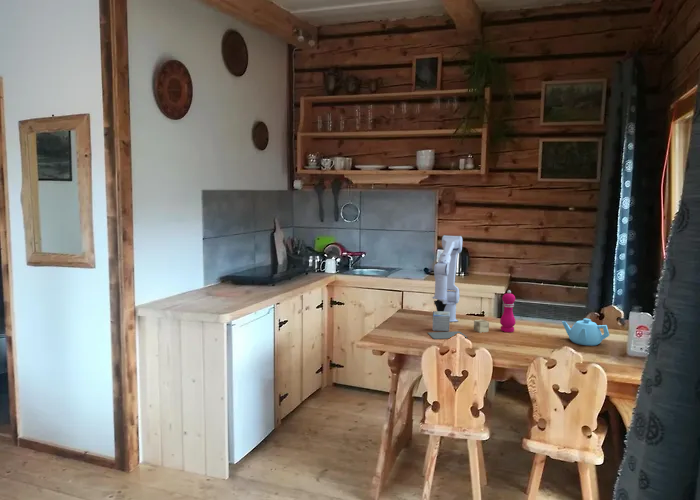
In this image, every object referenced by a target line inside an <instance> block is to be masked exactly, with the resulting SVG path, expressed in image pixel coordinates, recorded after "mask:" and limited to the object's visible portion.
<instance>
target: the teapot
mask: <svg viewBox="0 0 700 500" xmlns="http://www.w3.org/2000/svg"><path fill="white" fill-rule="evenodd" d="M561 323H562V325H563V327H564V329H565V332H566V334H567V336H568V338H569V340H570V341H571V342H572V343H574V344H576V345H580V346H587V347H588V346H590V347H591V346H592V347H593V346H598V345H599V344H601V343H602V342H603V340H605V339H607V338H608V337H609V336H610V332H609V329H608V325H607V324H602V325H601V324H599V325H598V324H597V323H596V322H593V321H592V319H590V318H586V317H585V318H583V319H582V320H577V321H575V322H574V324H573V325H572V326H571V327H570V325H569V324H568V323H567V321H565V320H562V321H561ZM601 329H603V334H602V330H601Z"/></svg>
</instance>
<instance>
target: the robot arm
mask: <svg viewBox="0 0 700 500" xmlns="http://www.w3.org/2000/svg"><path fill="white" fill-rule="evenodd" d="M441 246H442V249H443V251H442V253H440V254H439V257H438V260H437V263H435V264H434V268H433V273H434V274H433V275H434V280H435V283H434V296H432V297H431V298H432V299H433V300H434V301H433V303H434V305H435V309H436V311H446V312H449V313H450V323H453V322H459V320H458V319H457V316H456V315H457V313H456V312H457V304H458V303H459V301H460V295H461V294H460V288H459V287H458V286H457V285H456V284H455V283H456V275H457V274H456V273H457V262H458V256H459V254H461V253H462V250H463V237H462V235H445V234H444V235H443V236H442V237H441Z"/></svg>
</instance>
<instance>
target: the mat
mask: <svg viewBox="0 0 700 500" xmlns="http://www.w3.org/2000/svg"><path fill="white" fill-rule="evenodd" d="M457 333H460V334H462V335H464V336H465V337H466V338H465V339H468V336H467V335H465V334H464V333H463V332H462V331H457V330H456V331H431V332H430V331H429V332H427V335H428V336H430V338H432V339H433V340H449V339H448V338H450V337H452V336H454V335H455V334H457Z"/></svg>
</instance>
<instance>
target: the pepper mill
mask: <svg viewBox="0 0 700 500" xmlns="http://www.w3.org/2000/svg"><path fill="white" fill-rule="evenodd" d="M506 292H507V293H504V294H503V295H502V299H501V300H502V302H503V305H502V306H503V313H502V315H501V317H500V319H499V323H500V325H501V326H500V331H502V332H503V331H504V333H514V331H515V327H514V326H516V318H515V315H514V312H513V309H514V307H515V301H516V296H515V295H514V294H513V293H512V291H511V289H508V290H506Z"/></svg>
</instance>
